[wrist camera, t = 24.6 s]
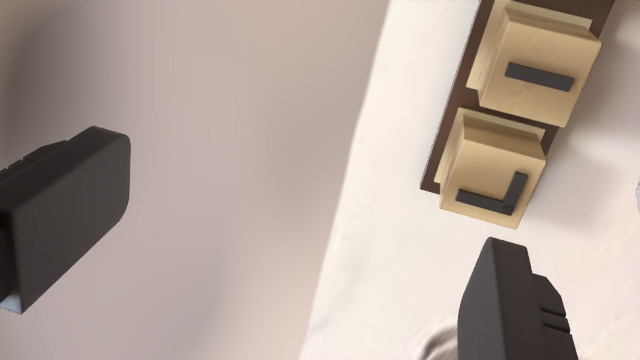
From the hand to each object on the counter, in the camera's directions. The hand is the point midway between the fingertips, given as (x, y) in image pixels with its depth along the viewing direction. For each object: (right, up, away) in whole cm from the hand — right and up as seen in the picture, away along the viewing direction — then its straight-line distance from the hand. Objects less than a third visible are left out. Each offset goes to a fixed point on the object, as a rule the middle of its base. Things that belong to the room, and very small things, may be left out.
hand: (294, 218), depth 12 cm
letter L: (+11, +2, +22) cm, 25 cm away
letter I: (+12, +8, +19) cm, 24 cm away
